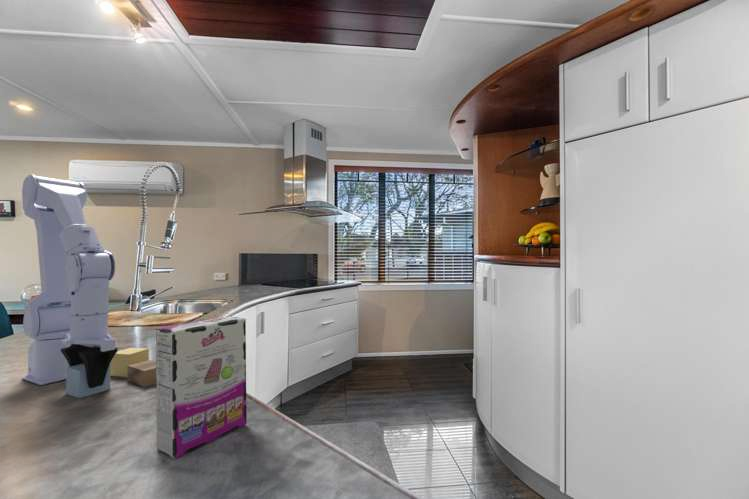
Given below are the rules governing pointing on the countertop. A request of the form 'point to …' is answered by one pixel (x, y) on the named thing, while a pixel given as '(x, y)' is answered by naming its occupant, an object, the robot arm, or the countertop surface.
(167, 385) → the candy bar box
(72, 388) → the blue cube
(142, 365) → the walnut block
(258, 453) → the countertop surface
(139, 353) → the mustard cube
